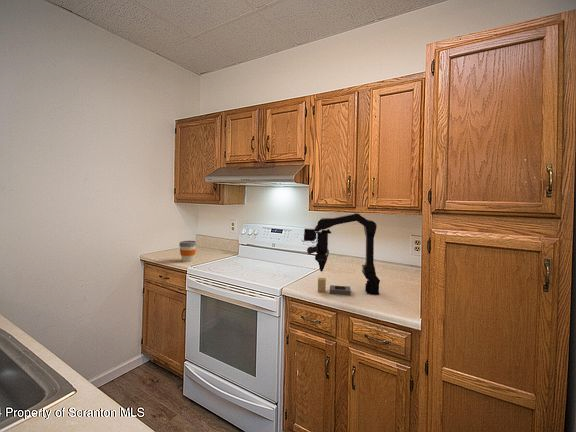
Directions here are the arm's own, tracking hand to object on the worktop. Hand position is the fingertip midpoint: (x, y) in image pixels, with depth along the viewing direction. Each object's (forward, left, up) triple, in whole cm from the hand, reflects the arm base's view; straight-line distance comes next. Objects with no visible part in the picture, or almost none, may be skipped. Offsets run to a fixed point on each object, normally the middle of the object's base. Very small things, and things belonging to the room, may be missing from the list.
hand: (322, 269), depth 159 cm
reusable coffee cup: (+108, -48, -12) cm, 119 cm away
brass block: (0, +1, -12) cm, 12 cm away
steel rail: (-10, +1, -12) cm, 16 cm away
